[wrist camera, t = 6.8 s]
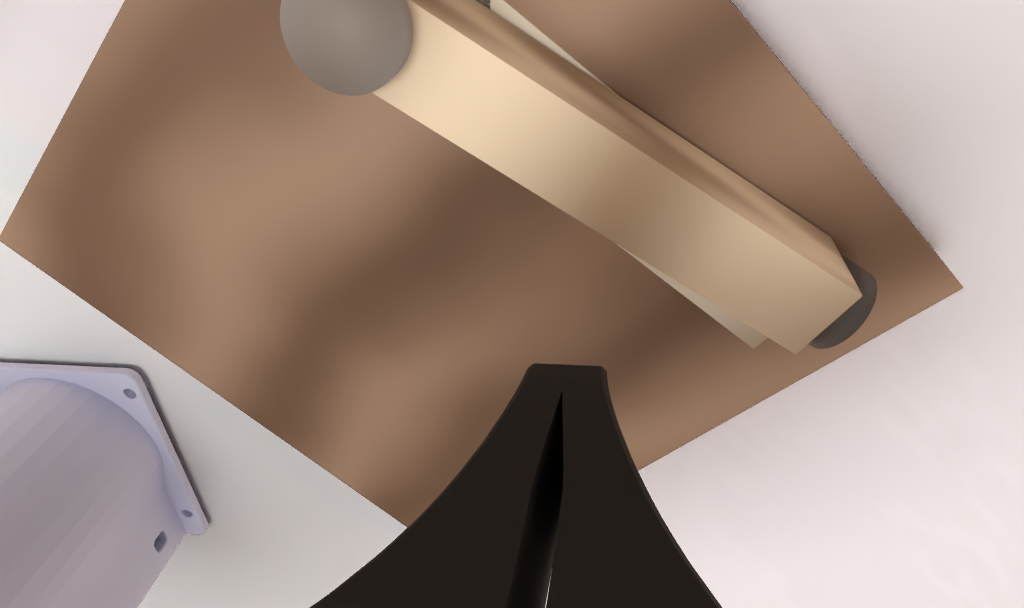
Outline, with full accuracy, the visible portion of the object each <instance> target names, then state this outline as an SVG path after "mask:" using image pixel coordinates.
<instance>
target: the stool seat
mask: <svg viewBox="0 0 1024 608" xmlns="http://www.w3.org/2000/svg"><path fill="white" fill-rule="evenodd" d="M281 1H282V0H125V1H124V3H123V5H122V7H121V9H120V11H119V12H118V14H117V16H116V18H115V20H114V22H113V24H112V26H111V28H110V29H109V31H108V33H107V35H106V37H105V39H104V41H103V43H102V45H101V46H100V48H99V50H98V52H97V54H96V56H95V58H94V60H93V61H92V63H91V65H90V67H89V69H88V71H87V73H86V75H85V77H84V78H83V80H82V82H81V84H80V86H79V88H78V90H77V92H76V94H75V95H74V97H73V99H72V101H71V103H70V105H69V107H68V109H67V110H66V112H65V114H64V116H63V118H62V120H61V122H60V124H59V126H58V127H57V129H56V131H55V133H54V135H53V137H52V139H51V141H50V143H49V144H48V146H47V148H46V150H45V152H44V154H43V156H42V158H41V159H40V161H39V163H38V165H37V167H36V169H35V171H34V173H33V175H32V176H31V178H30V180H29V182H28V184H27V186H26V188H25V190H24V191H23V193H22V195H21V197H20V199H19V201H18V203H17V205H16V207H15V208H14V210H13V212H12V214H11V216H10V218H9V220H8V222H7V224H6V225H5V227H4V229H3V231H2V233H1V235H0V241H1V242H2V243H3V244H5V245H6V246H8V247H9V248H11V249H12V250H13V251H15V252H16V253H18V254H19V255H20V256H22V257H23V258H25V259H26V260H28V261H29V262H30V263H32V264H33V265H35V266H36V267H38V268H39V269H40V270H42V271H43V272H45V273H46V274H48V275H49V276H50V277H52V278H53V279H55V280H56V281H58V282H59V283H60V284H62V285H63V286H65V287H66V288H67V289H69V290H70V291H72V292H73V293H75V294H76V295H77V296H79V297H80V298H82V299H83V300H85V301H86V302H87V303H89V304H90V305H92V306H93V307H95V308H96V309H97V310H99V311H100V312H102V313H103V314H104V315H106V316H107V317H109V318H110V319H112V320H113V321H114V322H116V323H117V324H119V325H120V326H122V327H123V328H124V329H126V330H127V331H129V332H130V333H132V334H133V335H134V336H136V337H137V338H139V339H140V340H142V341H143V342H144V343H146V344H147V345H149V346H150V347H151V348H153V349H154V350H156V351H157V352H159V353H160V354H161V355H163V356H164V357H166V358H167V359H169V360H170V361H171V362H173V363H174V364H176V365H177V366H179V367H180V368H181V369H183V370H184V371H186V372H187V373H188V374H190V375H191V376H193V377H194V378H196V379H197V380H198V381H200V382H201V383H203V384H204V385H206V386H207V387H208V388H210V389H211V390H213V391H214V392H216V393H217V394H218V395H220V396H221V397H223V398H224V399H225V400H227V401H228V402H230V403H231V404H233V405H234V406H235V407H237V408H238V409H240V410H241V411H243V412H244V413H245V414H247V415H248V416H250V417H251V418H253V419H254V420H255V421H257V422H258V423H260V424H261V425H263V426H264V427H265V428H267V429H268V430H270V431H271V432H272V433H274V434H275V435H277V436H278V437H280V438H281V439H282V440H284V441H285V442H287V443H288V444H290V445H291V446H292V447H294V448H295V449H297V450H298V451H300V452H301V453H302V454H304V455H305V456H307V457H308V458H309V459H311V460H312V461H314V462H315V463H317V464H318V465H319V466H321V467H322V468H324V469H325V470H327V471H328V472H329V473H331V474H332V475H334V476H335V477H337V478H338V479H339V480H341V481H342V482H344V483H345V484H347V485H348V486H349V487H351V488H352V489H354V490H355V491H356V492H358V493H359V494H361V495H362V496H364V497H365V498H366V499H368V500H369V501H371V502H372V503H374V504H375V505H376V506H378V507H379V508H381V509H382V510H384V511H385V512H386V513H388V514H389V515H391V516H392V517H393V518H395V519H396V520H398V521H399V522H401V523H402V524H403V525H405V526H406V527H409V526H410V525H411V524H412V523H413V522H414V521H415V520H416V519H417V518H418V517H419V516H420V515H421V514H422V513H423V512H424V511H425V510H426V509H427V508H428V507H429V506H430V505H431V504H432V502H433V501H434V500H435V499H436V498H437V497H438V496H439V495H440V494H441V493H442V492H443V491H444V489H445V488H446V487H447V486H448V485H449V484H450V482H451V481H452V480H453V479H454V478H455V477H456V475H457V474H458V473H459V472H460V470H461V469H462V468H463V467H464V465H465V464H466V463H467V462H468V460H469V459H470V458H471V456H472V455H473V454H474V453H475V451H476V450H477V449H478V448H479V446H480V445H481V444H482V442H483V441H484V439H485V438H486V437H487V435H488V434H489V432H490V431H491V429H492V428H493V426H494V425H495V423H496V422H497V420H498V419H499V418H500V416H501V415H502V413H503V412H504V410H505V408H506V407H507V405H508V403H509V402H510V400H511V399H512V397H513V395H514V394H515V392H516V390H517V388H518V386H519V385H520V383H521V381H522V379H523V377H524V375H525V373H526V371H527V369H528V367H530V366H531V365H532V364H533V363H539V364H564V365H589V366H602V367H603V368H604V369H605V370H606V371H607V381H608V388H609V392H610V397H611V401H612V404H613V408H614V411H615V414H616V418H617V421H618V424H619V426H620V429H621V432H622V434H623V437H624V439H625V442H626V444H627V447H628V449H629V452H630V455H631V457H632V459H633V461H634V464H635V466H636V468H637V470H640V469H642V468H644V467H645V466H647V465H649V464H651V463H653V462H654V461H656V460H658V459H660V458H662V457H663V456H665V455H667V454H669V453H670V452H672V451H674V450H676V449H678V448H679V447H681V446H683V445H685V444H686V443H688V442H690V441H692V440H694V439H695V438H697V437H699V436H701V435H702V434H704V433H706V432H708V431H710V430H711V429H713V428H715V427H717V426H718V425H720V424H722V423H724V422H726V421H727V420H729V419H731V418H733V417H735V416H736V415H738V414H740V413H742V412H743V411H745V410H747V409H749V408H751V407H752V406H754V405H756V404H758V403H759V402H761V401H763V400H765V399H767V398H768V397H770V396H772V395H774V394H775V393H777V392H779V391H781V390H783V389H784V388H786V387H788V386H790V385H791V384H793V383H795V382H797V381H799V380H800V379H802V378H804V377H806V376H807V375H809V374H811V373H813V372H815V371H816V370H818V369H820V368H822V367H824V366H825V365H827V364H829V363H831V362H832V361H834V360H836V359H838V358H840V357H841V356H843V355H845V354H847V353H848V352H850V351H852V350H854V349H856V348H857V347H859V346H861V345H863V344H864V343H866V342H868V341H870V340H872V339H873V338H875V337H877V336H879V335H880V334H882V333H884V332H886V331H888V330H889V329H891V328H893V327H895V326H897V325H898V324H900V323H902V322H904V321H905V320H907V319H909V318H911V317H913V316H914V315H916V314H918V313H920V312H921V311H923V310H925V309H927V308H929V307H930V306H932V305H934V304H936V303H937V302H939V301H941V300H943V299H945V298H946V297H948V296H950V295H952V294H953V293H955V292H957V291H959V290H961V289H962V288H963V286H962V285H961V284H960V283H959V281H958V280H957V279H956V277H955V276H954V275H953V274H952V272H951V271H950V270H949V269H948V267H947V266H946V265H945V264H944V262H943V261H942V260H941V258H940V257H939V256H938V255H937V253H936V252H935V251H934V250H933V248H932V247H931V246H930V245H929V243H928V242H927V241H926V240H925V239H924V237H923V236H922V235H921V234H920V232H919V231H918V230H917V229H916V228H915V226H914V225H913V224H912V223H911V221H910V220H909V219H908V218H907V216H906V215H905V214H904V213H903V212H902V210H901V209H900V208H899V207H898V205H897V204H896V203H895V202H894V201H893V199H892V198H891V197H890V196H889V194H888V193H887V192H886V191H885V189H884V188H883V187H882V186H881V185H880V183H879V182H878V181H877V180H876V178H875V177H874V176H873V175H872V173H871V172H870V171H869V170H868V169H867V167H866V166H865V165H864V164H863V162H862V161H861V160H860V159H859V158H858V156H857V155H856V154H855V153H854V151H853V150H852V149H851V148H850V146H849V145H848V144H847V143H846V142H845V140H844V139H843V138H842V137H841V135H840V134H839V133H838V132H837V131H836V129H835V128H834V127H833V126H832V124H831V123H830V122H829V121H828V119H827V118H826V117H825V116H824V115H823V113H822V112H821V111H820V110H819V108H818V107H817V106H816V105H815V103H814V102H813V101H812V100H811V99H810V97H809V96H808V95H807V94H806V92H805V91H804V90H803V89H802V88H801V86H800V85H799V84H798V83H797V81H796V80H795V79H794V78H793V76H792V75H791V74H790V73H789V72H788V70H787V69H786V68H785V67H784V65H783V64H782V63H781V62H780V60H779V59H778V58H777V57H776V56H775V54H774V53H773V52H772V51H771V49H770V48H769V47H768V46H767V45H766V43H765V42H764V41H763V40H762V38H761V37H760V36H759V35H758V33H757V32H756V31H755V30H754V29H753V27H752V26H751V25H750V24H749V22H748V21H747V20H746V19H745V18H744V16H743V15H742V14H741V13H740V11H739V10H738V9H737V8H736V6H735V5H734V4H733V3H732V2H731V0H476V1H478V2H479V3H481V4H482V5H484V6H485V7H487V8H488V9H490V10H491V11H493V12H494V13H496V14H497V15H499V16H500V17H502V18H503V19H505V20H506V21H508V22H509V23H511V24H512V25H514V26H515V27H517V28H518V29H520V30H521V31H523V32H524V33H526V34H527V35H529V36H530V37H532V38H533V39H535V40H536V41H538V42H539V43H541V44H542V45H544V46H545V47H547V48H548V49H550V50H551V51H553V52H554V53H556V54H557V55H559V56H560V57H562V58H563V59H565V60H566V61H568V62H569V63H571V64H572V65H574V66H575V67H577V68H578V69H580V70H581V71H583V72H584V73H586V74H587V75H589V76H590V77H592V78H593V79H595V80H596V81H598V82H599V83H601V84H602V85H604V86H605V87H607V88H608V89H610V90H611V91H613V92H614V93H616V94H617V95H619V96H620V97H622V98H623V99H625V100H626V101H628V102H629V103H631V104H632V105H634V106H635V107H637V108H638V109H640V110H641V111H643V112H644V113H646V114H647V115H649V116H650V117H652V118H653V119H655V120H656V121H658V122H659V123H661V124H662V125H664V126H665V127H667V128H668V129H670V130H671V131H673V132H674V133H676V134H677V135H679V136H680V137H682V138H683V139H685V140H686V141H688V142H689V143H691V144H692V145H694V146H695V147H697V148H698V149H700V150H701V151H703V152H704V153H706V154H707V155H709V156H710V157H712V158H713V159H715V160H716V161H718V162H719V163H721V164H722V165H724V166H725V167H727V168H728V169H730V170H731V171H733V172H734V173H736V174H737V175H739V176H740V177H742V178H743V179H745V180H746V181H748V182H749V183H751V184H752V185H754V186H755V187H757V188H758V189H760V190H761V191H763V192H764V193H766V194H767V195H769V196H770V197H772V198H773V199H775V200H776V201H778V202H779V203H781V204H782V205H784V206H785V207H787V208H788V209H790V210H791V211H793V212H794V213H796V214H797V215H799V216H800V217H802V218H803V219H805V220H806V221H808V222H809V223H811V224H812V225H814V226H815V227H817V228H818V229H820V230H821V231H823V232H824V233H826V234H827V235H829V236H830V237H831V238H832V240H833V242H834V244H835V246H836V247H837V249H838V251H839V253H840V255H843V256H845V257H846V258H848V259H849V260H851V261H852V262H854V263H855V264H857V265H858V266H860V267H861V268H863V269H864V270H866V271H867V272H869V273H870V274H871V275H873V277H874V278H875V280H876V283H877V296H876V300H875V303H874V306H873V308H872V310H871V312H870V314H869V316H868V317H867V319H866V320H865V322H864V323H863V324H862V326H861V327H860V328H859V329H858V330H857V331H856V332H855V333H854V334H853V335H852V336H850V337H849V338H848V339H847V340H845V341H844V342H842V343H840V344H838V345H836V346H834V347H831V348H827V349H817V348H814V347H812V346H810V345H809V344H807V345H806V346H805V347H804V348H803V349H802V350H800V351H799V352H798V353H797V354H794V353H792V352H791V351H789V350H788V349H786V348H784V347H783V346H781V345H779V344H778V343H776V342H775V341H773V340H771V339H770V338H768V337H766V336H765V335H763V334H762V333H760V332H758V331H757V330H755V329H754V328H752V327H750V326H749V325H747V324H745V323H744V322H742V321H741V320H739V319H737V318H736V317H734V316H732V315H731V314H729V313H728V312H726V311H724V310H723V309H721V308H720V307H718V306H716V305H715V304H713V303H711V302H710V301H708V300H707V299H705V298H703V297H702V296H700V295H699V294H697V293H695V292H694V291H692V290H690V289H689V288H687V287H686V286H684V285H682V284H681V283H679V282H677V281H676V280H674V279H673V278H671V277H669V276H668V275H666V274H665V273H663V272H661V271H660V270H658V269H656V268H655V267H653V266H652V265H650V264H648V263H647V262H645V261H643V260H642V259H640V258H639V257H637V256H635V255H634V254H632V253H631V252H629V251H627V250H626V249H624V248H622V247H621V246H619V245H618V244H616V243H614V242H613V241H611V240H610V239H608V238H606V237H605V236H603V235H601V234H600V233H598V232H597V231H595V230H593V229H592V228H590V227H588V226H587V225H585V224H584V223H582V222H580V221H579V220H577V219H576V218H574V217H572V216H571V215H569V214H567V213H566V212H564V211H563V210H561V209H559V208H558V207H556V206H554V205H553V204H551V203H550V202H548V201H546V200H545V199H543V198H542V197H540V196H538V195H537V194H535V193H533V192H532V191H530V190H529V189H527V188H525V187H524V186H522V185H520V184H519V183H517V182H516V181H514V180H512V179H511V178H509V177H508V176H506V175H504V174H503V173H501V172H499V171H498V170H496V169H495V168H493V167H491V166H490V165H488V164H487V163H485V162H483V161H482V160H480V159H478V158H477V157H475V156H474V155H472V154H470V153H469V152H467V151H465V150H464V149H462V148H461V147H459V146H457V145H456V144H454V143H453V142H451V141H449V140H448V139H446V138H444V137H443V136H441V135H440V134H438V133H436V132H435V131H433V130H431V129H430V128H428V127H427V126H425V125H423V124H422V123H420V122H419V121H417V120H415V119H414V118H412V117H410V116H409V115H407V114H406V113H404V112H402V111H401V110H399V109H398V108H396V107H394V106H393V105H391V104H389V103H388V102H386V101H385V100H383V99H381V98H380V97H378V96H376V95H375V94H373V93H372V92H371V93H368V94H365V95H359V96H347V95H341V94H337V93H333V92H331V91H328V90H326V89H324V88H322V87H320V86H319V85H317V84H316V83H314V82H313V81H312V80H310V79H309V78H308V77H307V76H306V75H305V74H304V73H303V72H302V71H301V70H300V69H299V67H298V66H297V65H296V63H295V62H294V61H293V59H292V57H291V56H290V54H289V52H288V50H287V47H286V45H285V42H284V39H283V36H282V32H281V26H280V7H281Z"/></svg>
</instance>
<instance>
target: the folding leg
mask: <svg viewBox="0 0 1024 608" xmlns="http://www.w3.org/2000/svg"><path fill="white" fill-rule="evenodd" d="M280 26H281V32H282V36H283V39H284V42H285V45H286V47H287V50H288V52H289V54H290V56H291V57H292V59H293V61H294V62H295V63H296V65H297V66H298V67H299V69H300V70H301V71H302V72H303V73H304V74H305V75H306V76H307V77H308V78H309V79H310V80H312V81H313V82H314V83H316V84H317V85H319V86H320V87H322V88H324V89H326V90H328V91H331V92H333V93H337V94H341V95H347V96H359V95H365V94H368V93H371V92H372V93H373V94H375V95H376V96H378V97H380V98H381V99H383V100H385V101H386V102H388V103H389V104H391V105H393V106H394V107H396V108H398V109H399V110H401V111H402V112H404V113H406V114H407V115H409V116H410V117H412V118H414V119H415V120H417V121H419V122H420V123H422V124H423V125H425V126H427V127H428V128H430V129H431V130H433V131H435V132H436V133H438V134H440V135H441V136H443V137H444V138H446V139H448V140H449V141H451V142H453V143H454V144H456V145H457V146H459V147H461V148H462V149H464V150H465V151H467V152H469V153H470V154H472V155H474V156H475V157H477V158H478V159H480V160H482V161H483V162H485V163H487V164H488V165H490V166H491V167H493V168H495V169H496V170H498V171H499V172H501V173H503V174H504V175H506V176H508V177H509V178H511V179H512V180H514V181H516V182H517V183H519V184H520V185H522V186H524V187H525V188H527V189H529V190H530V191H532V192H533V193H535V194H537V195H538V196H540V197H542V198H543V199H545V200H546V201H548V202H550V203H551V204H553V205H554V206H556V207H558V208H559V209H561V210H563V211H564V212H566V213H567V214H569V215H571V216H572V217H574V218H576V219H577V220H579V221H580V222H582V223H584V224H585V225H587V226H588V227H590V228H592V229H593V230H595V231H597V232H598V233H600V234H601V235H603V236H605V237H606V238H608V239H610V240H611V241H613V242H614V243H616V244H618V245H619V246H621V247H622V248H624V249H626V250H627V251H629V252H631V253H632V254H634V255H635V256H637V257H639V258H640V259H642V260H643V261H645V262H647V263H648V264H650V265H652V266H653V267H655V268H656V269H658V270H660V271H661V272H663V273H665V274H666V275H668V276H669V277H671V278H673V279H674V280H676V281H677V282H679V283H681V284H682V285H684V286H686V287H687V288H689V289H690V290H692V291H694V292H695V293H697V294H699V295H700V296H702V297H703V298H705V299H707V300H708V301H710V302H711V303H713V304H715V305H716V306H718V307H720V308H721V309H723V310H724V311H726V312H728V313H729V314H731V315H732V316H734V317H736V318H737V319H739V320H741V321H742V322H744V323H745V324H747V325H749V326H750V327H752V328H754V329H755V330H757V331H758V332H760V333H762V334H763V335H765V336H766V337H768V338H770V339H771V340H773V341H775V342H776V343H778V344H779V345H781V346H783V347H784V348H786V349H788V350H789V351H791V352H792V353H794V354H797V353H798V352H799V351H800V350H802V349H803V348H804V347H805V346H806V345H807V344H809V345H810V346H812V347H814V348H817V349H827V348H831V347H834V346H836V345H838V344H840V343H842V342H844V341H845V340H847V339H848V338H849V337H850V336H852V335H853V334H854V333H855V332H856V331H857V330H858V329H859V328H860V327H861V326H862V324H863V323H864V322H865V320H866V319H867V317H868V316H869V314H870V312H871V310H872V308H873V306H874V303H875V300H876V296H877V283H876V280H875V278H874V277H873V275H871V274H870V273H869V272H867V271H866V270H864V269H863V268H861V267H860V266H858V265H857V264H855V263H854V262H852V261H851V260H849V259H848V258H846V257H845V256H843V255H840V253H839V251H838V249H837V247H836V246H835V244H834V242H833V240H832V238H831V237H830V236H829V235H827V234H826V233H824V232H823V231H821V230H820V229H818V228H817V227H815V226H814V225H812V224H811V223H809V222H808V221H806V220H805V219H803V218H802V217H800V216H799V215H797V214H796V213H794V212H793V211H791V210H790V209H788V208H787V207H785V206H784V205H782V204H781V203H779V202H778V201H776V200H775V199H773V198H772V197H770V196H769V195H767V194H766V193H764V192H763V191H761V190H760V189H758V188H757V187H755V186H754V185H752V184H751V183H749V182H748V181H746V180H745V179H743V178H742V177H740V176H739V175H737V174H736V173H734V172H733V171H731V170H730V169H728V168H727V167H725V166H724V165H722V164H721V163H719V162H718V161H716V160H715V159H713V158H712V157H710V156H709V155H707V154H706V153H704V152H703V151H701V150H700V149H698V148H697V147H695V146H694V145H692V144H691V143H689V142H688V141H686V140H685V139H683V138H682V137H680V136H679V135H677V134H676V133H674V132H673V131H671V130H670V129H668V128H667V127H665V126H664V125H662V124H661V123H659V122H658V121H656V120H655V119H653V118H652V117H650V116H649V115H647V114H646V113H644V112H643V111H641V110H640V109H638V108H637V107H635V106H634V105H632V104H631V103H629V102H628V101H626V100H625V99H623V98H622V97H620V96H619V95H617V94H616V93H614V92H613V91H611V90H610V89H608V88H607V87H605V86H604V85H602V84H601V83H599V82H598V81H596V80H595V79H593V78H592V77H590V76H589V75H587V74H586V73H584V72H583V71H581V70H580V69H578V68H577V67H575V66H574V65H572V64H571V63H569V62H568V61H566V60H565V59H563V58H562V57H560V56H559V55H557V54H556V53H554V52H553V51H551V50H550V49H548V48H547V47H545V46H544V45H542V44H541V43H539V42H538V41H536V40H535V39H533V38H532V37H530V36H529V35H527V34H526V33H524V32H523V31H521V30H520V29H518V28H517V27H515V26H514V25H512V24H511V23H509V22H508V21H506V20H505V19H503V18H502V17H500V16H499V15H497V14H496V13H494V12H493V11H491V10H490V9H488V8H487V7H485V6H484V5H482V4H481V3H479V2H478V1H476V0H282V1H281V7H280Z"/></svg>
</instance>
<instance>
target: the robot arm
mask: <svg viewBox="0 0 1024 608" xmlns="http://www.w3.org/2000/svg"><path fill="white" fill-rule="evenodd" d="M208 526H209V525H208V522H207V520H206V517H205V515H204V513H203V511H202V509H201V506H200V504H199V502H198V500H197V498H196V495H195V493H194V491H193V489H192V487H191V484H190V482H189V480H188V478H187V476H186V474H185V471H184V469H183V467H182V465H181V463H180V460H179V458H178V456H177V454H176V452H175V449H174V447H173V445H172V443H171V441H170V438H169V436H168V434H167V432H166V430H165V428H164V425H163V423H162V421H161V419H160V417H159V414H158V412H157V410H156V408H155V406H154V403H153V401H152V399H151V397H150V395H149V392H148V390H147V388H146V386H145V384H144V381H143V379H142V377H141V376H140V374H138V373H137V372H136V371H134V370H132V369H128V368H114V367H93V366H71V365H50V364H28V363H7V362H0V608H137V607H138V606H139V604H140V603H141V601H142V599H143V598H144V596H145V595H146V593H147V592H148V590H149V589H150V587H151V586H152V584H153V583H154V581H155V580H156V578H157V577H158V575H159V574H160V572H161V571H162V569H163V567H164V566H165V564H166V563H167V561H168V560H169V558H170V557H171V555H172V554H173V552H174V551H175V549H176V548H177V546H178V545H179V543H180V542H181V540H182V539H183V537H184V536H185V534H193V535H201V534H203V533H205V531H206V529H207V528H208ZM551 571H552V573H551ZM550 576H551V579H550ZM549 582H550V586H549ZM548 587H549V592H548ZM547 593H548V599H547V605H546V608H722V607H721V605H720V604H719V603H718V601H717V600H716V598H715V597H714V596H713V594H712V593H711V591H710V590H709V589H708V587H707V586H706V585H705V583H704V582H703V580H702V579H701V578H700V576H699V575H698V573H697V572H696V571H695V569H694V568H693V566H692V565H691V564H690V562H689V561H688V559H687V558H686V556H685V555H684V553H683V551H682V550H681V548H680V547H679V545H678V543H677V542H676V540H675V539H674V537H673V536H672V534H671V532H670V531H669V529H668V527H667V525H666V524H665V522H664V520H663V519H662V517H661V515H660V513H659V512H658V510H657V508H656V506H655V504H654V502H653V501H652V499H651V497H650V495H649V493H648V491H647V489H646V487H645V485H644V483H643V481H642V479H641V477H640V474H639V472H638V470H637V468H636V466H635V464H634V461H633V459H632V457H631V455H630V452H629V449H628V447H627V444H626V442H625V439H624V437H623V434H622V432H621V429H620V426H619V424H618V421H617V418H616V414H615V411H614V408H613V404H612V401H611V397H610V392H609V388H608V381H607V371H606V370H605V369H604V368H603V367H602V366H589V365H564V364H539V363H533V364H532V365H531V366H530V367H528V369H527V371H526V373H525V375H524V377H523V379H522V381H521V383H520V385H519V386H518V388H517V390H516V392H515V394H514V395H513V397H512V399H511V400H510V402H509V403H508V405H507V407H506V408H505V410H504V412H503V413H502V415H501V416H500V418H499V419H498V420H497V422H496V423H495V425H494V426H493V428H492V429H491V431H490V432H489V434H488V435H487V437H486V438H485V439H484V441H483V442H482V444H481V445H480V446H479V448H478V449H477V450H476V451H475V453H474V454H473V455H472V456H471V458H470V459H469V460H468V462H467V463H466V464H465V465H464V467H463V468H462V469H461V470H460V472H459V473H458V474H457V475H456V477H455V478H454V479H453V480H452V481H451V482H450V484H449V485H448V486H447V487H446V488H445V489H444V491H443V492H442V493H441V494H440V495H439V496H438V497H437V498H436V499H435V500H434V501H433V502H432V504H431V505H430V506H429V507H428V508H427V509H426V510H425V511H424V512H423V513H422V514H421V515H420V516H419V517H418V518H417V519H416V520H415V521H414V522H413V523H412V524H411V525H410V526H409V527H408V528H407V529H406V530H404V531H403V532H402V533H401V534H400V535H399V536H398V537H397V538H396V539H395V540H394V541H393V542H392V543H391V544H390V545H388V546H387V547H386V548H385V549H384V550H383V551H382V552H381V553H379V554H378V555H377V556H376V557H375V558H373V559H372V560H371V561H370V562H368V563H367V564H366V565H365V566H364V567H362V568H361V569H360V570H359V571H357V572H356V573H355V574H354V575H352V576H351V577H350V578H349V579H347V580H346V581H345V582H344V583H342V584H341V585H340V586H339V587H337V588H336V589H335V590H334V591H332V592H331V593H330V594H328V595H327V596H326V597H324V598H323V599H321V600H320V601H319V602H317V603H316V604H314V605H313V606H311V607H310V608H545V604H546V598H547Z"/></svg>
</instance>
